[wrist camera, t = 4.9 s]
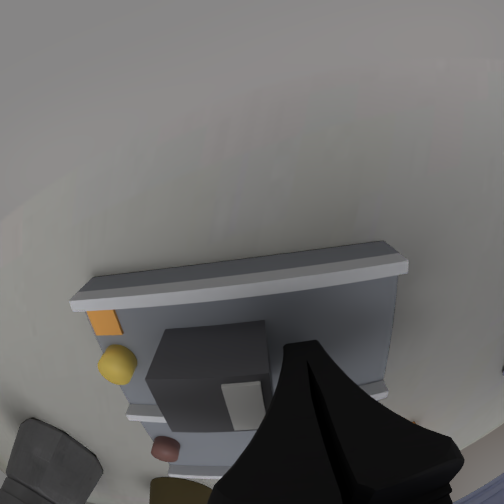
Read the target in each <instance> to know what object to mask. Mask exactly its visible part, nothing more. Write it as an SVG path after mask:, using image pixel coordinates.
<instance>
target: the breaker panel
mask: <svg viewBox="0 0 504 504" xmlns="http://www.w3.org/2000/svg"><path fill="white" fill-rule="evenodd" d="M408 265H409V260H408V259H406V258H405V257H404V256H403V255H401V254H400V253H399V252H398V251H396V250H395V249H394V248H392V247H391V246H390V245H389V244H387V243H386V242H385V241H378V242H371V243H363V244H356V245H348V246H341V247H333V248H325V249H318V250H310V251H302V252H294V253H287V254H279V255H271V256H263V257H255V258H247V259H239V260H232V261H224V262H216V263H208V264H199V265H191V266H183V267H175V268H167V269H159V270H151V271H142V272H134V273H126V274H117V275H109V276H101V277H93V278H92V279H91V280H90V281H89V282H88V283H86V284H85V285H84V286H83V287H82V288H81V289H80V290H79V291H78V292H77V293H76V294H75V295H74V296H73V297H72V298H71V299H70V300H69V303H70V306H71V308H72V311H73V312H79V311H85V313H86V315H87V317H88V320H89V322H90V325H91V327H92V329H93V332H94V334H95V336H96V339H97V341H98V343H99V345H100V347H101V350H102V352H103V355H102V357H101V359H100V360H99V362H98V369H99V372H100V373H101V375H102V376H103V377H104V378H105V379H107V380H108V381H110V382H112V383H114V384H117V385H120V387H121V389H122V391H123V393H124V394H125V396H126V398H127V400H128V402H129V403H130V405H129V407H128V410H127V412H126V416H127V417H128V419H129V420H131V421H140V422H141V423H142V425H143V426H144V428H145V430H146V431H147V433H148V434H149V436H150V437H151V439H152V440H153V442H154V443H153V447H152V450H151V454H152V455H153V456H154V457H155V458H157V459H159V460H161V461H165V462H168V463H169V464H170V465H169V470H168V475H169V476H170V477H179V478H197V479H221V478H222V477H223V475H224V474H225V473H226V472H227V471H228V470H229V469H230V468H231V467H232V465H233V464H234V463H235V462H236V460H237V459H238V458H239V456H240V455H241V454H242V452H243V451H244V450H245V448H246V447H247V445H248V444H249V443H250V441H251V439H252V438H253V436H254V435H255V433H256V431H257V430H254V431H239V432H212V433H186V432H172V431H171V429H170V427H169V426H168V424H167V422H166V420H165V418H164V416H163V415H162V413H161V411H160V409H159V407H158V405H157V403H156V401H155V399H154V397H153V395H152V393H151V391H150V389H149V387H148V385H147V383H146V381H145V378H146V375H147V373H148V370H149V367H150V365H151V362H152V360H153V358H154V355H155V353H156V350H157V348H158V345H159V343H160V340H161V338H162V336H163V333H164V331H165V329H172V328H187V327H199V326H211V325H222V324H232V323H241V322H250V321H259V320H265V325H266V333H267V340H268V348H269V355H270V363H271V370H272V379H273V390H274V392H275V389H276V386H277V383H278V379H279V376H280V372H281V367H282V362H283V346H284V345H285V344H288V343H296V342H303V341H309V340H318V341H319V342H320V344H321V345H322V347H323V348H324V349H325V351H326V352H327V353H328V354H329V356H330V357H331V358H332V359H333V360H334V362H335V363H336V364H337V365H338V366H339V367H340V368H341V369H342V370H343V371H344V372H345V373H346V375H347V376H348V377H349V378H351V379H352V380H353V381H354V382H355V383H356V384H357V385H358V386H359V387H360V388H361V389H363V390H364V391H365V392H366V393H367V394H369V395H370V396H371V397H372V398H374V399H375V400H376V401H379V399H383V398H387V395H388V389H387V387H386V385H385V383H384V381H383V379H384V374H385V369H386V363H387V358H388V352H389V346H390V340H391V333H392V326H393V319H394V310H395V302H396V292H397V280H398V275H401V274H406V273H408Z"/></svg>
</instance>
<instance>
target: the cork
mask: <svg viewBox="0 0 504 504" xmlns="http://www.w3.org/2000/svg"><path fill="white" fill-rule="evenodd" d="M211 492H212V489H210V488H209V487H207V486H205V485H202V484H199V483H197V482H193V481H189V480H185V479H179V478H170V477H161V478H155V479H153V480H152V481H151V484H150V503H149V504H207V502H208V500H209V497H210V494H211Z"/></svg>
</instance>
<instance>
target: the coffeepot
mask: <svg viewBox="0 0 504 504" xmlns="http://www.w3.org/2000/svg"><path fill="white" fill-rule="evenodd" d="M6 474H7V476H8V478H6V479H5V481H4V483H3V485H2V487H1V489H0V504H85V502H86V501H87V499H88V497H89V496H90V494H91V492H92V491H93V489H94V487H95V486H96V484H97V482H98V481H99V479H100V478H101V476H102V474H103V471H102V468H101V465H100V462H99V461H98V459H97V458H96V457H95V456H94V455H93V454H92V453H91V452H90V451H89V450H88V449H87V448H85V447H84V446H83V445H81V444H80V443H79V442H77V441H76V440H75V439H73V438H72V437H70V436H69V435H67V434H65V433H64V432H62V431H60V430H59V429H57V428H55V427H53V426H51V425H49V424H47V423H45V422H42V421H39V420H36V419H27V420H26V421H25V422H24V423H22V424H21V425H20V428H19V430H18V433H17V436H16V439H15V442H14V445H13V449H12V452H11V455H10V459H9V462H8V466H7V469H6Z"/></svg>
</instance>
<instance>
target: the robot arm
mask: <svg viewBox="0 0 504 504" xmlns="http://www.w3.org/2000/svg"><path fill="white" fill-rule="evenodd" d="M503 376H504V371H503ZM463 464H464V458H463V456H462V454H461V452H460V450H459V448H458V447H457V445H456V444H455V443H454V441H453V440H452V438H451V437H448V436H445V435H442V434H440V433H437V432H434V431H431V430H428V429H426V428H423V427H421V426H419V425H417V424H415V423H412V422H410V421H409V420H407V419H405V418H403V417H401V416H400V415H398V414H396V413H394V412H393V411H391V410H389V409H388V408H386V407H385V406H383V405H382V404H381V403H379V402H378V401H376V400H375V399H374V398H372V397H371V396H370V395H369V394H367V393H366V392H365V391H364V390H363V389H361V388H360V387H359V386H358V385H357V384H356V383H355V382H354V381H353V380H352V379H351V378H349V377H348V376H347V375H346V373H345V372H344V371H343V370H342V369H341V368H340V367H339V366H338V365H337V364H336V363H335V362H334V360H333V359H332V358H331V357H330V356H329V354H328V353H327V352H326V351H325V349H324V348H323V347H322V345H321V344H320V342H319V341H318V340H309V341H303V342H296V343H288V344H285V345H284V346H283V362H282V367H281V372H280V376H279V379H278V383H277V386H276V389H275V392H274V395H273V398H272V400H271V403H270V405H269V408H268V410H267V412H266V414H265V416H264V418H263V420H262V422H261V424H260V426H259V428H258V429H257V431H256V433H255V435H254V436H253V438H252V439H251V441H250V443H249V444H248V445H247V447H246V448H245V450H244V451H243V452H242V454H241V455H240V456H239V458H238V459H237V460H236V462H235V463H234V464H233V465H232V467H231V468H230V469H229V470H228V471H227V472H226V473H225V474H224V475H223V477H222V478H221V479H220V480H219V481H218V482H217V483H216V484H215V485H214V487H213V490H212V492H211V494H210V497H209V500H208V502H207V504H504V473H502V474H501V475H500V476H498V477H497V478H495V479H493V480H492V481H491V482H489V483H487V484H485V485H484V486H482V487H481V488H479V489H477V490H476V491H474V492H472V493H470V494H469V495H467V496H465V497H463V498H461V499H459V500H457V501H456V502H454V503H452V500H451V498H450V495H449V494H450V493H451V492H452V489H451V487H450V484H449V482H450V481H451V480H452V479H453V478H454V477H455V475H456V474H457V473H458V472H459V471H460V469H461V468H462V466H463Z"/></svg>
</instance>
